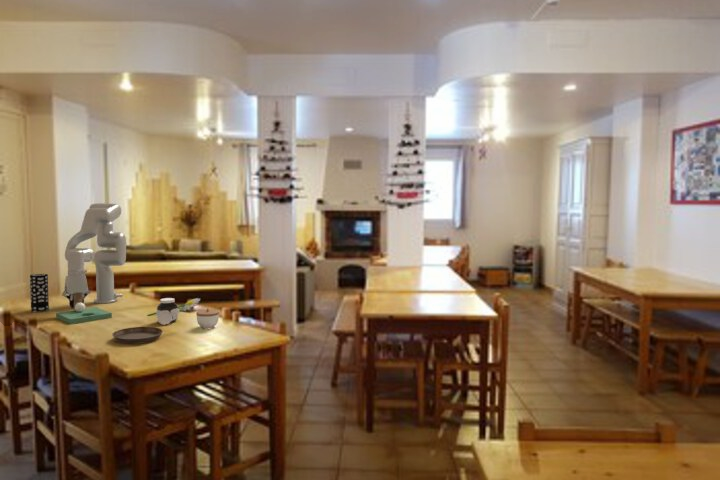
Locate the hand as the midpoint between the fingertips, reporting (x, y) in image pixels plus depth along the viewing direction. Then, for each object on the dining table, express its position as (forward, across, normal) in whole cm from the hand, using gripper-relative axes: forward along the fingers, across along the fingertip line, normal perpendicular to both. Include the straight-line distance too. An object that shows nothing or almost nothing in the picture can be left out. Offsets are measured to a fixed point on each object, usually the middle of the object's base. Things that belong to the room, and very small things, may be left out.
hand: (76, 306), depth 264 cm
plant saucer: (+5, -2, +68) cm, 69 cm away
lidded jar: (+5, -35, +72) cm, 80 cm away
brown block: (+1, 0, 0) cm, 1 cm away
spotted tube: (+5, +10, -26) cm, 28 cm away
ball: (0, 0, +5) cm, 5 cm away
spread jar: (+5, -26, +49) cm, 56 cm away
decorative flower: (+5, -40, +29) cm, 50 cm away
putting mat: (+5, 0, +9) cm, 11 cm away
